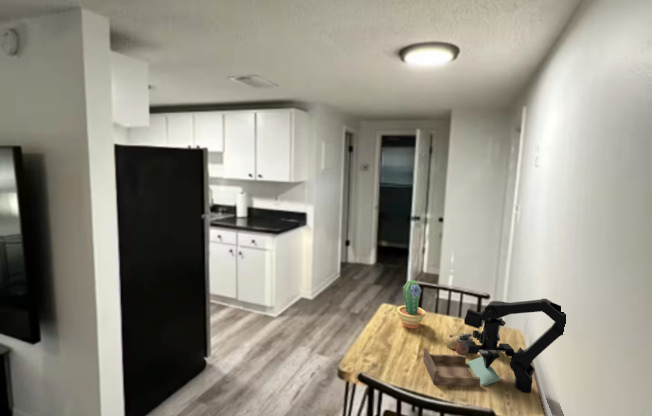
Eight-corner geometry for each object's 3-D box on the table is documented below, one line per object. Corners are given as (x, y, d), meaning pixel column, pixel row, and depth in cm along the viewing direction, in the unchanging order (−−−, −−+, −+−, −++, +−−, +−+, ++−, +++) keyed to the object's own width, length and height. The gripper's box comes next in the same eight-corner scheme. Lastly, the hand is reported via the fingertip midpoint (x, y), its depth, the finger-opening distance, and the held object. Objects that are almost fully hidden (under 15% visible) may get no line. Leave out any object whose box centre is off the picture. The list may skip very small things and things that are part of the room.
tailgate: (481, 384, 142) (499, 377, 141) (466, 362, 158) (483, 355, 157) (482, 386, 142) (500, 379, 142) (467, 364, 158) (484, 357, 157)
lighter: (458, 357, 165) (460, 336, 164) (453, 353, 169) (455, 333, 167) (473, 355, 167) (475, 334, 166) (468, 351, 171) (470, 331, 169)
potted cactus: (393, 327, 193) (395, 282, 190) (399, 316, 207) (401, 274, 204) (422, 333, 187) (425, 287, 184) (426, 322, 201) (429, 278, 198)
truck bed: (433, 387, 142) (434, 370, 141) (423, 363, 159) (424, 348, 158) (479, 389, 142) (481, 372, 141) (464, 365, 159) (465, 350, 158)
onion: (454, 343, 178) (455, 329, 177) (466, 351, 171) (467, 337, 170) (441, 345, 175) (442, 332, 174) (452, 354, 168) (453, 339, 167)
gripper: (504, 324, 155) (500, 358, 157) (461, 322, 156) (457, 355, 158) (517, 337, 144) (512, 373, 146) (470, 334, 145) (466, 370, 147)
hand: (486, 367), depth 150 cm, fingers closed
